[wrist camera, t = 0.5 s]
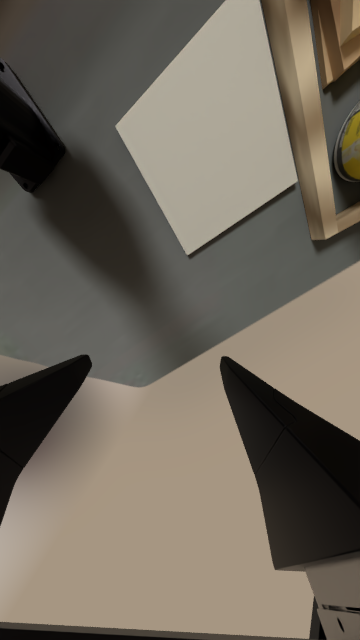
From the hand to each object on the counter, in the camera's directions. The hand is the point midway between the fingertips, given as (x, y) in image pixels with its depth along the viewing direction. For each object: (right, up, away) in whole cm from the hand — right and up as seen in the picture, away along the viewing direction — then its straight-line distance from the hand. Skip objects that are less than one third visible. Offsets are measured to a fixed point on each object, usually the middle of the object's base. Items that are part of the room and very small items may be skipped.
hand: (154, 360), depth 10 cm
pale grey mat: (+5, +19, +5) cm, 20 cm away
